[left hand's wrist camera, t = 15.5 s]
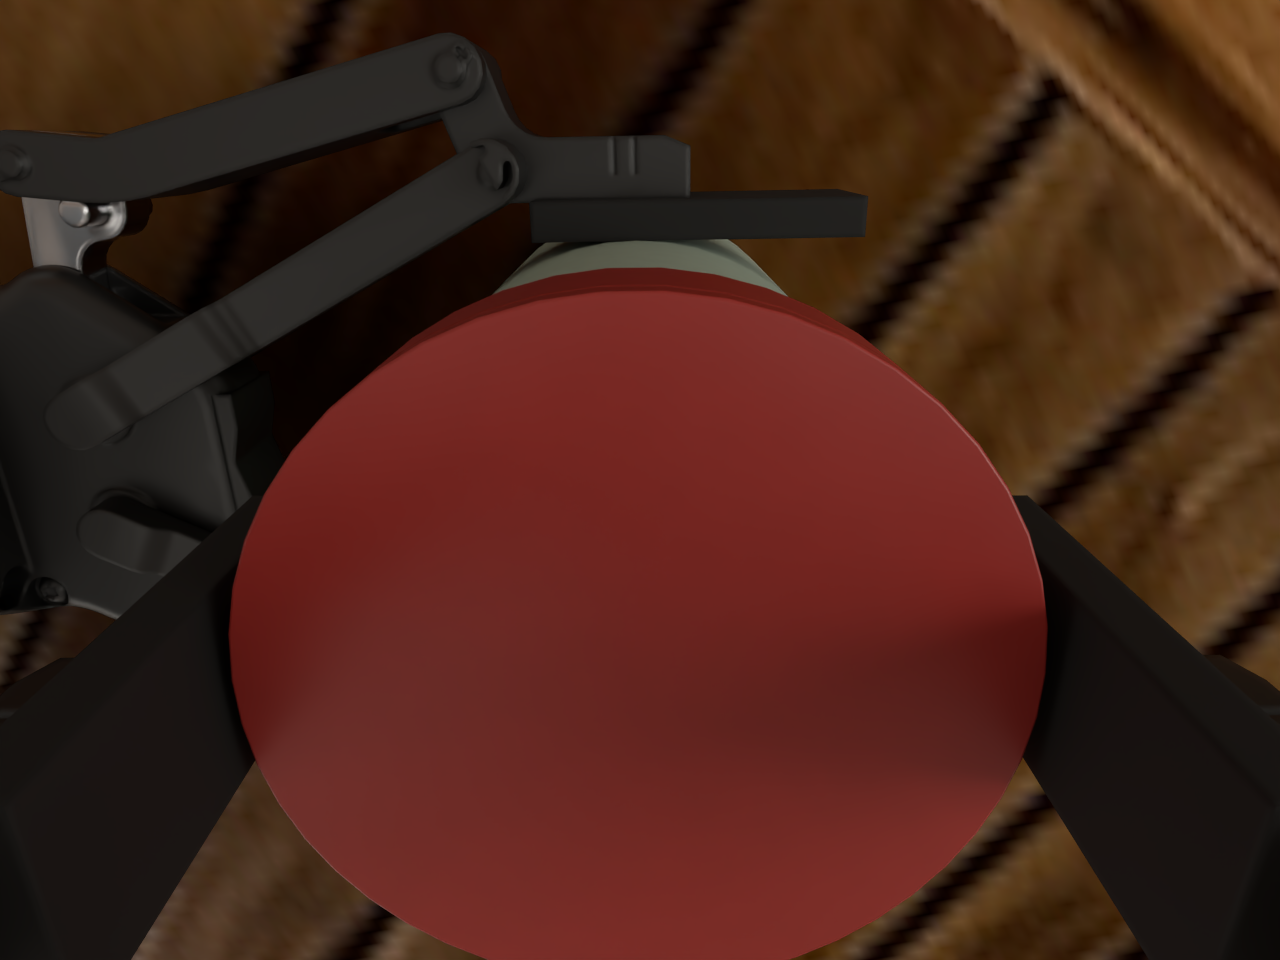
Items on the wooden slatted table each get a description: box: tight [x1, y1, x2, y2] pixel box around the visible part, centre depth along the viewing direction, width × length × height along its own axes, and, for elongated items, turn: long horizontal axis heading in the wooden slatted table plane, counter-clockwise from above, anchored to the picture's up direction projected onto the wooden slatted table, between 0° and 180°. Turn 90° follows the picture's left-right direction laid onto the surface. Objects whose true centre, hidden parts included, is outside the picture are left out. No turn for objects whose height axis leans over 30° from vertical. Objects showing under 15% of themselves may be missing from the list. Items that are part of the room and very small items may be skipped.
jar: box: [492, 239, 788, 297], centre depth 18 cm, size 9×9×16 cm
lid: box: [228, 267, 1048, 960], centre depth 11 cm, size 10×10×2 cm
